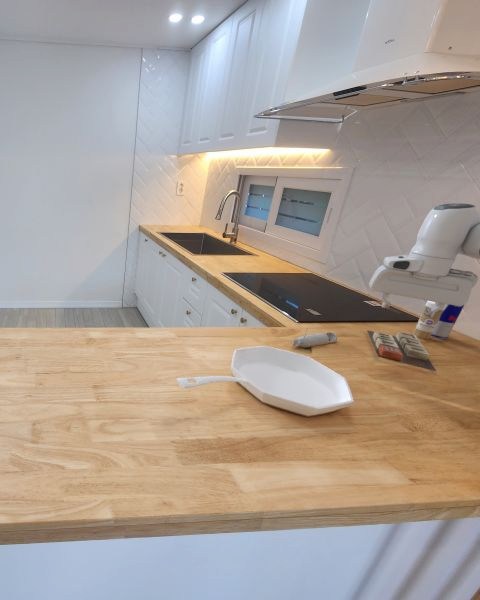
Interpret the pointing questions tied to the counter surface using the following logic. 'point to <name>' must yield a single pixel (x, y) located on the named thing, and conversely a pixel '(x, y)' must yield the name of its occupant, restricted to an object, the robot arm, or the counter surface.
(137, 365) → the counter surface
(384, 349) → the s tile
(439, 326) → the beverage can
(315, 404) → the pan
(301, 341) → the torpedo
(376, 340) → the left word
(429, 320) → the sprinkles bottle
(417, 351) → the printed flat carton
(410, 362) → the letter board
